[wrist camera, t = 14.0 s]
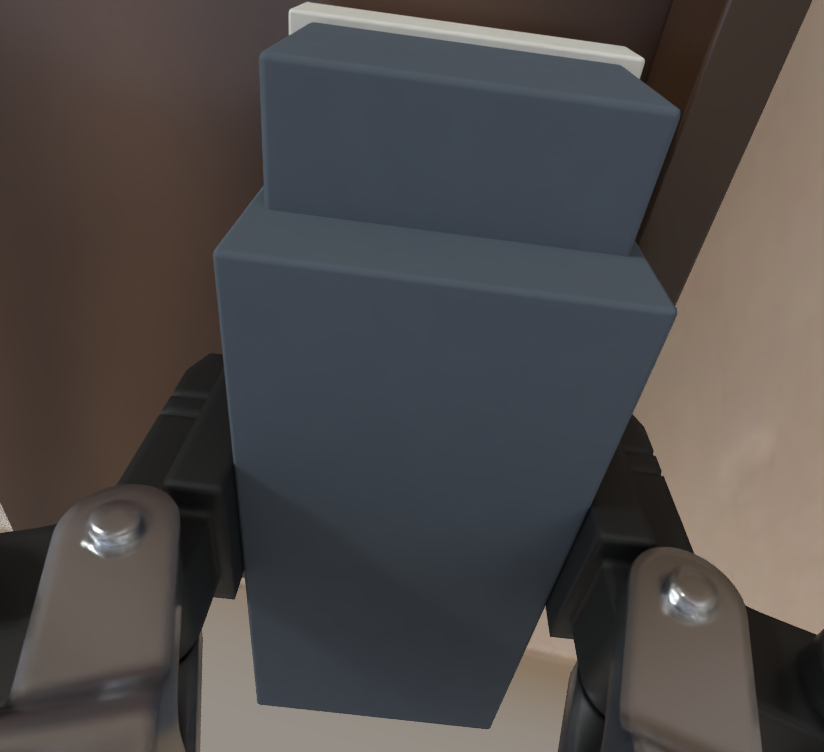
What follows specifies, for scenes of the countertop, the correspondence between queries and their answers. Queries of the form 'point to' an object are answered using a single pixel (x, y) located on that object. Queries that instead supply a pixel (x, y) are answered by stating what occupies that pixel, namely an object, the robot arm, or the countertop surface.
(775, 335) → the countertop surface
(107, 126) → the board
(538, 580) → the stepped grey pillar
